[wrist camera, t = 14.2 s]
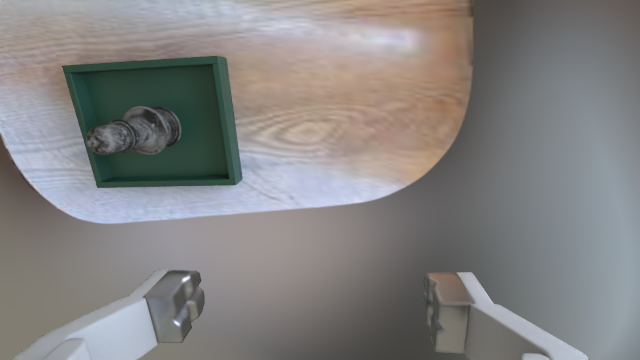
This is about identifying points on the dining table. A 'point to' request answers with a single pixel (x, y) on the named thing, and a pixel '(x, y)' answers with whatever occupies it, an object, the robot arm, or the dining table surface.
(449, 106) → the dining table surface
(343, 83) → the dining table surface
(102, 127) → the dark grey chess piece
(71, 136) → the dining table surface
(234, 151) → the tray
